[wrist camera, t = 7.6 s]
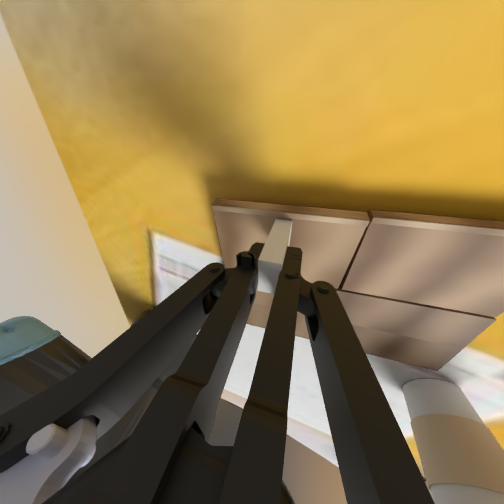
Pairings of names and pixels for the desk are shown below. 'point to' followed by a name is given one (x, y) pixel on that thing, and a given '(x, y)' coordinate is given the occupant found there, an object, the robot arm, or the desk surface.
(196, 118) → the desk surface
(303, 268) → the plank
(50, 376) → the robot arm
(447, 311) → the laid board
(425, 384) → the coffee cup
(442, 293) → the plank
